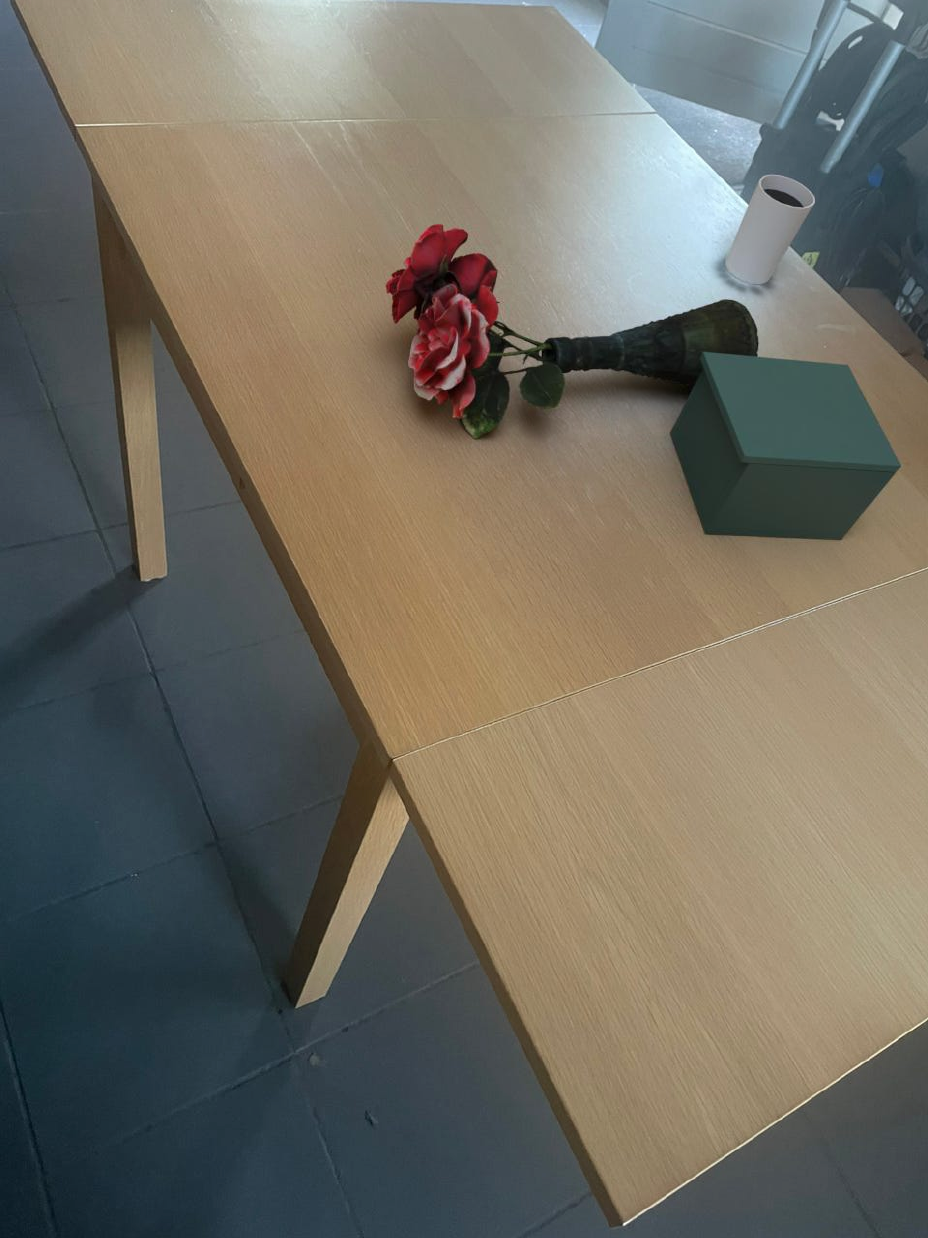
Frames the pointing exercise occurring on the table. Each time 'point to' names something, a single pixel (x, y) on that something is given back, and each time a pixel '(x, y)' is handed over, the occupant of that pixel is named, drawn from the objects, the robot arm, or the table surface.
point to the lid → (797, 413)
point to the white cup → (768, 228)
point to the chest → (763, 482)
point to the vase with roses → (463, 347)
